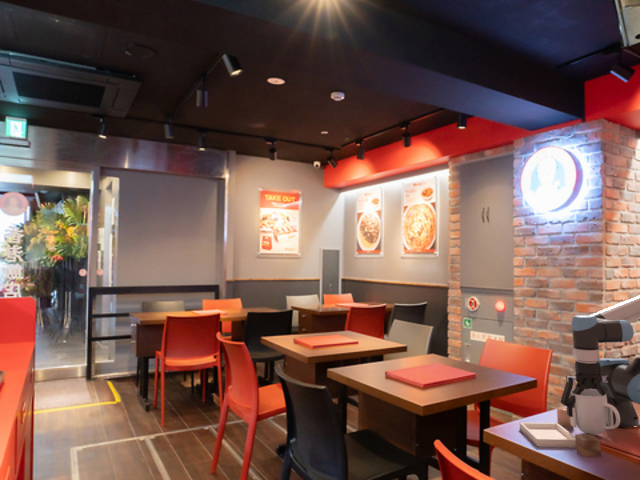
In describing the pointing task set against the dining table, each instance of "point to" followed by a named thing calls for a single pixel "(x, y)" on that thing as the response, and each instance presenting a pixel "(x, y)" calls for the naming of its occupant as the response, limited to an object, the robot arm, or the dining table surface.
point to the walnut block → (588, 445)
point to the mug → (593, 412)
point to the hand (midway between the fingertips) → (592, 426)
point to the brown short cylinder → (563, 418)
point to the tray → (548, 435)
